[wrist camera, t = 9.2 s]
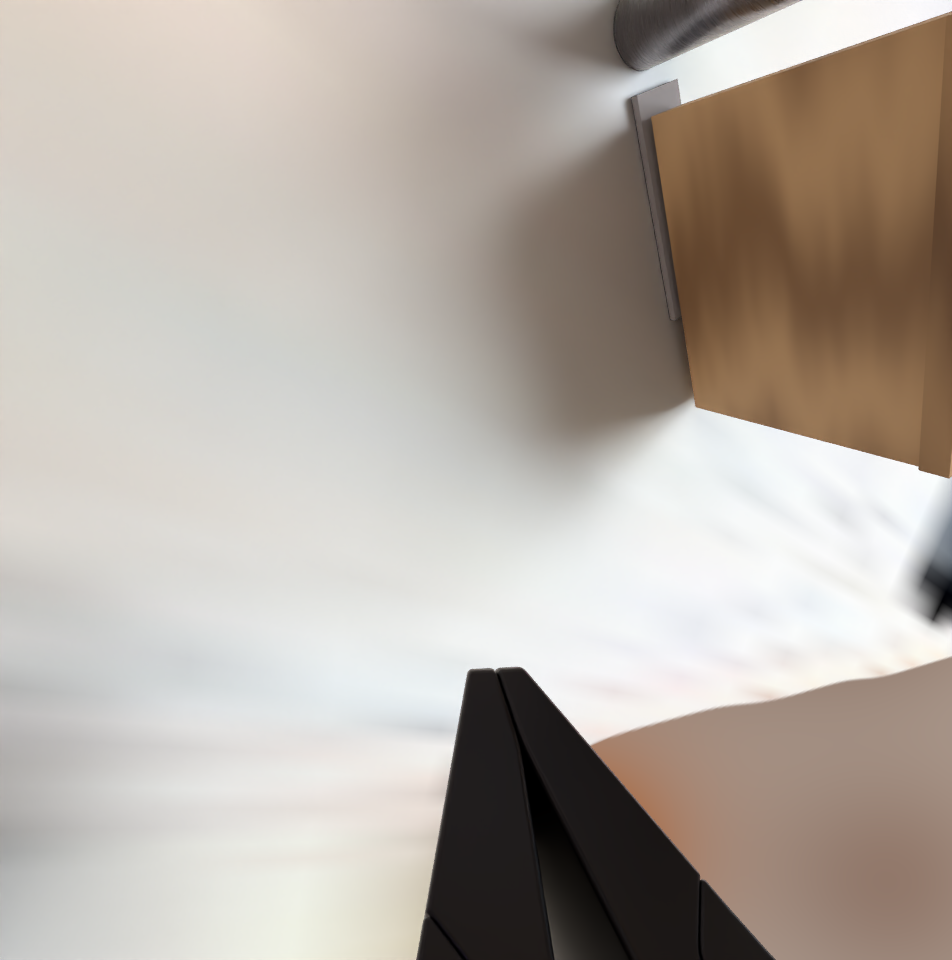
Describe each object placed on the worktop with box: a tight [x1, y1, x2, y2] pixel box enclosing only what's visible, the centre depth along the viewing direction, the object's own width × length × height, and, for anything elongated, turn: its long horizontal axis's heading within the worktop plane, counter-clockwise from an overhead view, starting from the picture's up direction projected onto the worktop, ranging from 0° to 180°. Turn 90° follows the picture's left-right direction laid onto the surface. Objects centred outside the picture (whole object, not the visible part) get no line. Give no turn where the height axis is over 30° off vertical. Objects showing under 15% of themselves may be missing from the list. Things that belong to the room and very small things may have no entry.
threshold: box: [631, 79, 682, 320], centre depth 18 cm, size 7×2×1 cm, turn 22°
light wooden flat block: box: [651, 11, 952, 478], centre depth 16 cm, size 10×2×8 cm, turn 21°
